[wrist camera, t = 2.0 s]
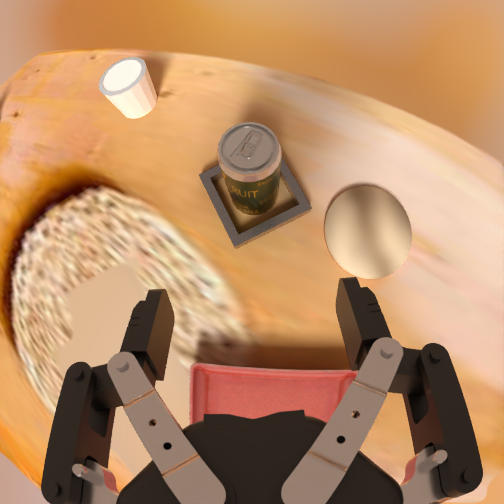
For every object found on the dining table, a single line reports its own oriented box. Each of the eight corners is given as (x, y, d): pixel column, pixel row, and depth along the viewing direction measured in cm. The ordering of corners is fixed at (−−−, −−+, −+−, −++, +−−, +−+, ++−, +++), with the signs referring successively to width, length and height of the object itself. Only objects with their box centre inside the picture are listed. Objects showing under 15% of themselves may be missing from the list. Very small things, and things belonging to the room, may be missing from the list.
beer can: (244, 166, 36) (235, 111, 24) (285, 185, 35) (293, 134, 24) (223, 204, 35) (202, 161, 24) (264, 224, 35) (263, 188, 23)
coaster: (381, 174, 35) (382, 172, 34) (423, 252, 33) (426, 251, 33) (307, 210, 35) (307, 209, 34) (351, 296, 33) (353, 296, 33)
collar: (271, 146, 36) (271, 140, 35) (310, 211, 35) (311, 208, 33) (201, 179, 36) (198, 174, 34) (235, 249, 35) (234, 246, 33)
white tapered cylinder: (117, 127, 38) (95, 102, 31) (119, 93, 39) (100, 66, 32) (162, 114, 38) (145, 85, 31) (160, 79, 39) (146, 50, 32)
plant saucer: (195, 480, 31) (190, 493, 28) (196, 356, 33) (189, 362, 30) (333, 486, 30) (338, 499, 27) (352, 362, 32) (361, 369, 29)
